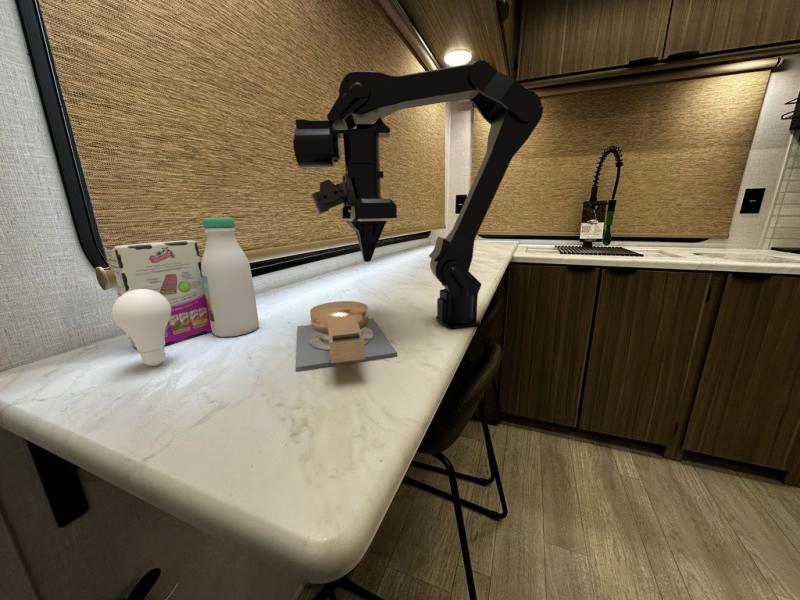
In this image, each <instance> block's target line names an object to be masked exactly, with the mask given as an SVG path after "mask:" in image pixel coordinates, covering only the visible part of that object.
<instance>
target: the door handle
mask: <svg viewBox="0 0 800 600" xmlns="http://www.w3.org/2000/svg"><path fill="white" fill-rule="evenodd" d="M368 308H369V307H368V305H367V304H365V303H363V302H359V301H354V300H353V301H352V300H351V301H350V300H340V301H339V300H338V301H332V302H331V301H329V302H325V303H324V302H323V303H321V304H318V305H315V306H313V307H312V308H311V309H310V310H309V314H310V325H312V329H313V330H314V331H316V332H319V333H324V334H329V344H330V355H331V363H339V362H346V361H354V360H362V359H365V350H364V338H363V335H362V333H361V330H360V329H363V328H364V327H366V326H367V325H368V318H369V309H368Z"/></svg>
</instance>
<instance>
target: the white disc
mask: <svg viewBox="0 0 800 600" xmlns="http://www.w3.org/2000/svg"><path fill="white" fill-rule="evenodd" d="M360 330H361V333H362V335H363V338H364V345H366V344H368V343H369V342H370V341H371V340H372V339H373V332H372V330H370V329H369V328H366V327H364V328H363V329H360ZM308 342H309V344H310V346H312V347H313V348H316V349H319V350H324V351H330V344H329V334H324V333H319V332H314V333H312V334H311V335H310V336H309V338H308Z"/></svg>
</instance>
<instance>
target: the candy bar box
mask: <svg viewBox="0 0 800 600" xmlns="http://www.w3.org/2000/svg"><path fill="white" fill-rule="evenodd" d="M104 251H105V254H106V259H107V262H108V264H109V268H111V269H112V270H113V271H114V274H115V276H116V282H117V285H118V287H115V289H116V294H117V297H118V298H119V297H120V296H122V295H123V294H125V293H126V292H129V291H132V290H136V289H149V290H153V291H156V292H158V293H160V294H161V295H163V296H164V297H165V298H166V299H167V301H168V302H169V304H170V306H171V315H170V318H169V321H168V324H167V326H166V329H165V345H164V347H166V345H167V346H169V344H170V345H172V343H173V344H175V343H180V342H181V341H182V340H183V341H185V340H188V338H189V339H192V338H194V337H198V336H201V334H202V335H205V334H207V333H211V332H212V329H211V324H210V319H209V313H208V308H207V303H206V297H205V292H204V286H203V280H202V272H201V262H202V260H201V256H200V252H199V247H198V241H197V240H189V239H188V240H187V239H182V240H169V241H167V240H166V241H155V242H154V241H153V242H144V243H133V244H132V243H131V244H124V245H123V244H121V245H112V246H111V245H110V246H104ZM111 269H110V270H111ZM204 333H205V334H204ZM191 337H192V338H191ZM129 339H130V343H131V346H132V347H133V346H134V347H136V345H135V343H134V341H133V340H132V338H131V337H130V336H129ZM183 341H182V342H183ZM134 347H133V348H134Z"/></svg>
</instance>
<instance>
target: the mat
mask: <svg viewBox="0 0 800 600" xmlns="http://www.w3.org/2000/svg"><path fill="white" fill-rule="evenodd" d="M366 328H369V329H370V330H372V332H373V339H372V340H371V341H370V342H369V343H368V344H366V345H364V350H365V359H362V360H354V361H346V362H339V363H331V355H330V351H324V350H319V349H316V348H313V347H312V346H310V344H309V342H308V338H309V336H310V335H311V334H312V333H314V332H316V331H314V330H313V329H312V325H311V324H306V325H304V324H303V325H297V328H296V329H297V330H296V347H295V348H296V349H295V350H296V352H295V372H301V371H307V370H314V369H321V368H327V367H335V366H342V365H348V364H355V363H362V362H370V361H375V360H376V361H377V360H382V359H388V358H389V359H390V358H395V357H398V352H397V350H396V348H395V347H394V346H393V345H392V342H390V340H389V339H388V337H387V336H386V335H385V333H384V332H383V330H382V329H381V327H380V326H379V325H378V323H377V322H376V321H375V319H374V318H373V317H368V325H367V326H366Z"/></svg>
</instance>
